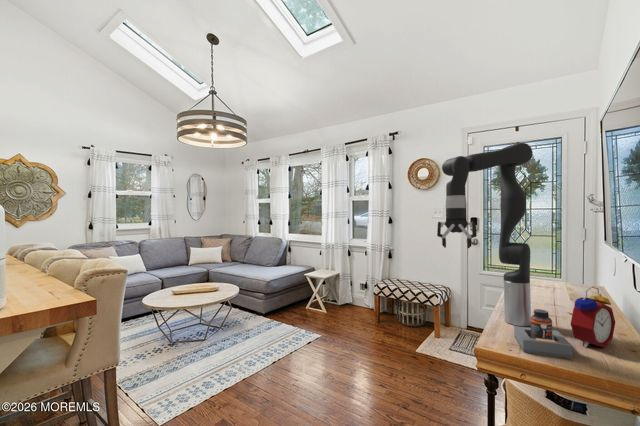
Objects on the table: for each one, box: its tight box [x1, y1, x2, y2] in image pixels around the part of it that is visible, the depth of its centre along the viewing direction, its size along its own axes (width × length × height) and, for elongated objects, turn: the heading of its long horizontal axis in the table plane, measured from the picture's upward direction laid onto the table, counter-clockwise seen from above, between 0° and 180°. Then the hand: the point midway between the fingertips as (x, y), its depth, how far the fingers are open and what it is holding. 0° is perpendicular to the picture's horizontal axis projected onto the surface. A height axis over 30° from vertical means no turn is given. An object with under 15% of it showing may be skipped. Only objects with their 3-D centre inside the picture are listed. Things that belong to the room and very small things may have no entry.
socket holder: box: [513, 325, 574, 359], centre depth 102 cm, size 13×13×4 cm
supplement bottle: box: [530, 308, 553, 340], centre depth 102 cm, size 6×6×11 cm
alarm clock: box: [566, 286, 616, 349], centre depth 104 cm, size 15×9×20 cm, turn 114°
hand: (456, 247), depth 120 cm, fingers open, 8 cm apart
